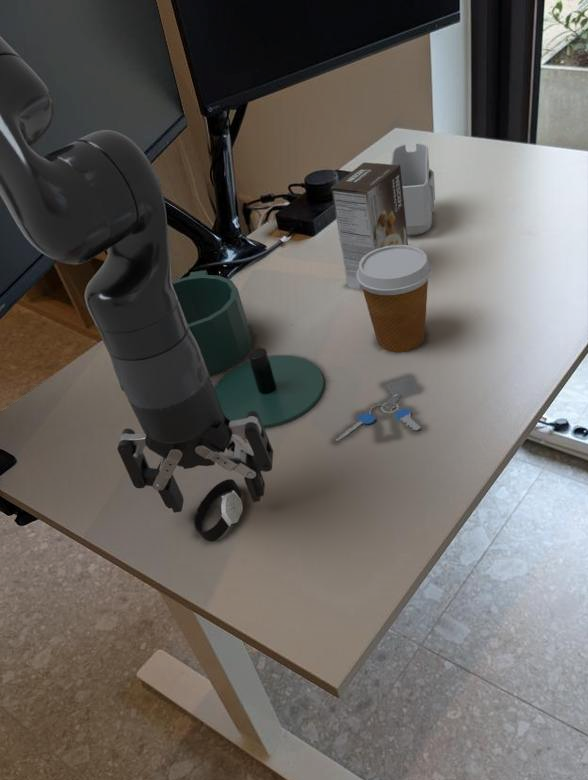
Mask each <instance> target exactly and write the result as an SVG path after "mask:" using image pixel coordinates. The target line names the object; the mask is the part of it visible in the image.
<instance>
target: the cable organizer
mask: <svg viewBox="0 0 588 780" xmlns="http://www.w3.org/2000/svg"><path fill="white" fill-rule="evenodd" d="M429 155H430V154H429V147H428V146H427V145H426V144H424V143H421V142H420V143H419V142H416V143H415V150H411V151H407V148H406V144H401V145H399V146H397V147H395V148H394V149H393V150H392V151H391V159H390V165H400V166H401V177H402V187H403V198H404V208H405V218H406V228H407V236H418V235H422V234H424V233H426V232H428V231H429V230H430V228H431V227H432V222H433V221H432V220H433V212H435V200H436V187H435V185H436V184H435V173H434V171H433V170H432V169H430V157H429Z"/></svg>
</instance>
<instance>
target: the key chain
mask: <svg viewBox="0 0 588 780" xmlns="http://www.w3.org/2000/svg"><path fill="white" fill-rule="evenodd" d="M385 386H386V388H387V390H388V391H389V393H390V394H391V396H390V398H389V399H388V400H387V401H386V402H384V403H383V404H375V405H373V406H371V408H370V409H369V411H368V412H364V413H361V414H360V415H358V416H357V421H358V422H356V423H355V424H354V425H352V426H351V427H349V428H348V429H347V430H346V431H344V432H343V433H342V434H341V435H339V436H338V437H337V438H335V441H336V442H339V441H341V440H342V439H344V438H346V437H348V435H349V434H351V433H352V432H353V431H355V430H357V429H358V428H359V427H360V426H362V425H371V424H373V423H375V422H376V421H379V420H380V419H379V418H376V415H374V413H372V409H374V408H375V407H378V406H380V409H381V411H382V412H383V413H386V414H392V413H393V414H394V413H395V414H394V417H395V420H397V421H402V423H404V424H405V425H406V426H407V427H409V428H410V429H411V431H415V432H416V431H419V430H421V426H420V425H419V424H418V423H417V422H416V421H415V420H414V419H412V418H411V416H412V415H413V413H412V411H411V409H408V408H402V409H400V405H399V404H398V402H399V400H400V399H401V398H403V397H406V396H408V395H412V394H414V393H417V392H419V389H418V388H417V387H416V385H415V383H414V382H413V381H412V379H411V378H410V377H405V378H402V379H400V380H399V379H398V380H396V381H393V382H390V383H387V384H386V385H385ZM387 404H388V405H392V407H391V409H390V407H389V406H387ZM393 405H394V406H393ZM384 407H386V408H388V409H390V411H387V410H385V409H384ZM393 409H394V410H393Z"/></svg>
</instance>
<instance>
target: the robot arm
mask: <svg viewBox="0 0 588 780" xmlns="http://www.w3.org/2000/svg"><path fill="white" fill-rule="evenodd" d="M54 111H55V103H54V100H53V96H52V94H51V92H50V90H49V88H48V86H47V85H46V84H45V83H44V81H43V80H42V79H41V78H40V76H39V75H38V74H37V73H36V71H34V69H32V68H31V67H30V66H29V65H28V63H27V62H26V61H24V59H23V58H22V57H21V56H20V55H19V54H18V53H17V52H16V50H14V49H13V47H11V45H9V43H7V41H6V40H5V39H4V38H3V37H2V36H1V35H0V197H1V199H2V201H3V202H4V204H5V206H6V207H7V210H8V211H9V213H10V216H11V217H12V219H13V220H14V222H15V224H16V225H17V227H18V229H19V230H20V232H21V233H22V234H23V236H24V237H25V239H26V240H27V242H29V243H30V244H31V246H33V247H34V248H35V249H36V250H37V251H38V252H39V253H41V254H43V255H44V256H46V257H48V258H49V259H51V260H54V261H55V262H58V263H62V264H65V265H71V266H73V265H74V266H75V265H76V266H77V265H82V264H84V263H87V262H90V261H91V260H93V259H94V258H96V257H97V256H99V255H101V254H102V253H104V252H105V251H107V255H106V258H105V260H104V262H103V264H102V265H101V266H100V267H99V269H98V270H97V271H96V273H95V274H94V275H93V276H92V278H90V280H89V282H88V283H87V285H86V287H85V290H84V301H85V302H84V303H85V305H86V308H87V311H88V313H89V315H90V317H91V319H92V321H93V324H94V326H95V327H96V330H97V332H98V334H99V336H100V338H101V340H102V342H103V344H104V347H105V348H106V351H107V352H108V355H109V357H110V361H111V363H112V367H113V370H114V373H115V377H116V378H117V380H118V383H119V386H120V388H121V391H122V392H123V393H124V394H125V396H126V399H127V401H128V403H129V405H130V407H131V409H132V411H133V413H134V414H135V417H136V419H137V422H138V423H139V425H140V427H141V429H142V431H143V432H140V433H136V432H135V431H134V430H133V429H132V428H124V429H123V430H122V432H121V435H120V438H119V442H118V445H117V448H116V449H117V452H118V454H119V456H120V459H121V461H122V463H123V465H124V468H125V470H126V472H127V474H128V476H129V478H130V480H131V483H132V485H133V486H134V488H136V489H139V490H140V489H144V488H146V487H152V488H153V489H154V490H156V491H157V492H158V493H159V496H160V498H161V500H162V502H163V504H164V506H165V507H166V508H167V509H171V510H172V512H173V513H181V512H182V510H183V507H184V502H185V501H184V496H183V494H182V491H181V490H180V487H179V485H178V482H177V481H176V479H175V477H174V475H173V474H174V472H175V470H176V468H177V466H178V467H180V468H183V469H184V470H187V469H188V470H189V469H193V468H195V467H199V466H200V467H208V466H209V467H211V466H215V464H217V465H218V466H220V467H222V468H223V469H224V470H227V471H229V472H232V471H234V472H236V473H238V474H240V475H241V476H243V477H244V482H245V485H246V487H247V491H248V493H249V495H250V499H251V501H252V503H257V502H261V497H264V495H265V488H266V482H265V479H264V476H263V474H262V472H265V473H268V472H271V471H272V469H273V462H274V461H273V460H274V449H273V447H272V444H271V442H270V439H269V436H268V434H267V432H266V428H264V427H263V424H262V422H261V419H260V417H259V414H258V413H257V412H255V411H250V412H248V413H247V416H246V418H245V419H239V420H234V421H231V420H230V419H228V418H227V417H226V416H225V415H224V413H223V411H222V408H221V405H220V402H219V399H218V397H217V394H216V391H215V386H214V384H213V381H212V378H211V375H209V372H208V370H207V367H206V364H205V361H204V359H203V356H202V353H201V351H200V348H199V346H198V343H197V341H196V339H195V338H194V336H193V334H192V332H191V330H190V328H189V326H188V324H187V321H186V318H185V316H184V313H183V310H182V308H181V305H180V302H179V300H178V297H177V295H176V292H175V289H174V287H173V284H172V282H173V278H172V261H171V259H172V258H171V252H170V251H171V250H170V241H169V239H170V238H169V229H168V217H167V216H168V215H167V208H166V201H165V196H164V191H163V188H162V184H161V182H160V179H159V176H158V174H157V172H156V169H155V167H154V165H153V164H152V162H151V161H150V158H149V157H148V156H147V154H146V153H145V152H144V151H143V150H142V149H141V147H140V146H139V145H137V144H136V142H134V141H133V140H132V139H131V138H129V137H128V136H126V135H125V134H123V133H120V132H118V131H116V130H110V129H100V130H96V131H92V132H91V133H88V134H86V135H83V136H82V137H80V138H78V139H77V140H74V141H73V142H70V143H69V144H67V145H64V146H62V147H60V148H58V149H56V150H54V151H52V152H50V153H48V154H46V155H44V156H41V155H39V154H38V153H37V152H36V151H35V150H34V149H33V147H35V145H37V144H38V143H39V141H41V139H42V138H43V137H44V136H45V134H46V133H47V132H48V130H49V128H50V126H51V124H52V121H53V118H54ZM233 435H237V436H239V437H240V438H241V439H242V440H243V443H245V444H249V446H250V448H251V451H250V450H248V449H247V448H245V447H244V446H243V444H242V443H241V441H239V440H238V439H237V438H235V437H234V436H233ZM145 447H147V448H148V449H149V451H151V452H153V453H155V454H156V455H158V456H160V457H161V459H160V460H159V463H158V465H157V467H150V466H149V463H148V460H147V458H146V456H145V453H144V451H145ZM226 450H227V453H225V451H226Z"/></svg>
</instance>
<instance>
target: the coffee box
mask: <svg viewBox="0 0 588 780" xmlns="http://www.w3.org/2000/svg"><path fill="white" fill-rule="evenodd" d="M330 190H331V196H332V202H333V207H334V214H335V219H336V225H337V231H338V237H339V243H340V244H339V245H340V248H341V254H342V260H343V267H344V273H345V279H346V284H347V287H348V288H352V289H357V290H362V291H363V289H362V287H361V285H360V283H359V282H358V280H357V276H356V274H357V270H358V269H359V262H360V261H361V259H362V258H363V257H364V256H365V255H366V254H368V253H369V252H371V251H373V250H376V249H379V248H382V247H386V246H392V245H408V246H409V240H408V235H407V228H406V218H405V208H404V198H403V187H402V177H401V166H400V165H391V163H390V164H389V163H378V162H377V163H375V162H362V163H361V164H360V165H358V166H357V167H356V168H355V169H353V170H351V172H349V173H348V174H346V175H345V176H344V177H342V178H341V179H340V180H339V181H337V182H336V183H335V184H333V185H332V186H331V187H330Z"/></svg>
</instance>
